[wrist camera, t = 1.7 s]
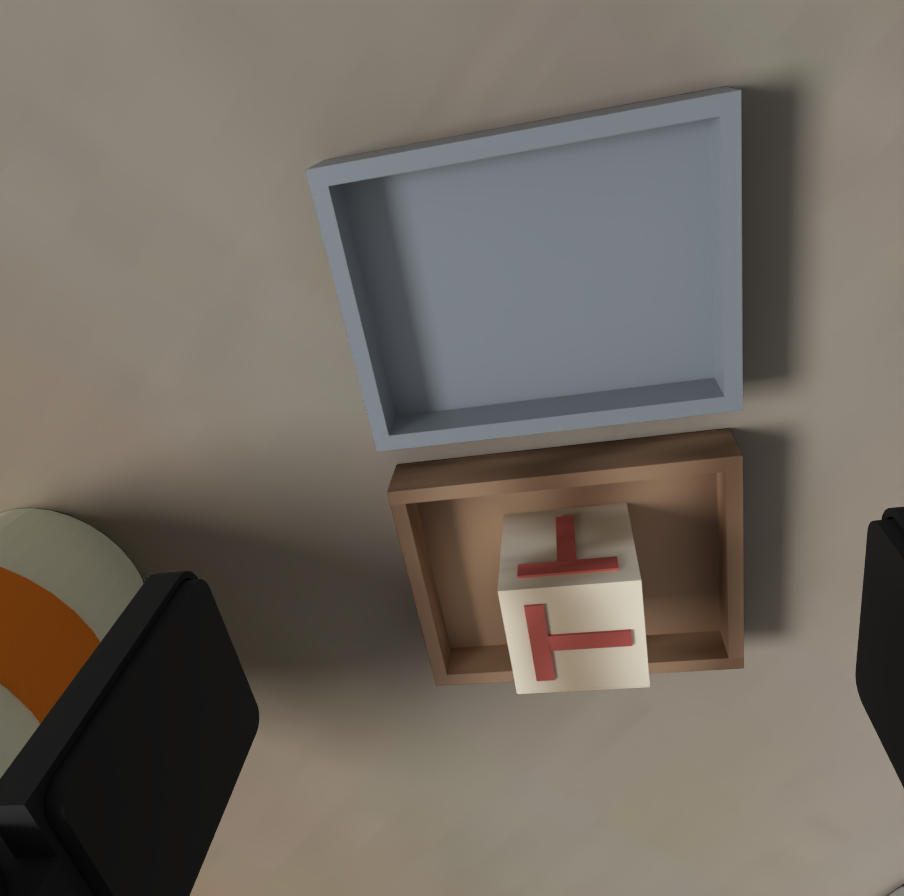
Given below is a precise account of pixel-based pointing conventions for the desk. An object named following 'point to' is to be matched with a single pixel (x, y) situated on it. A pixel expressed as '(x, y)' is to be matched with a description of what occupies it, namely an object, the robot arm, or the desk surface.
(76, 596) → the reusable coffee cup
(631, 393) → the grey tray
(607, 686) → the letter cube
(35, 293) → the desk surface
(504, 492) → the walnut tray
